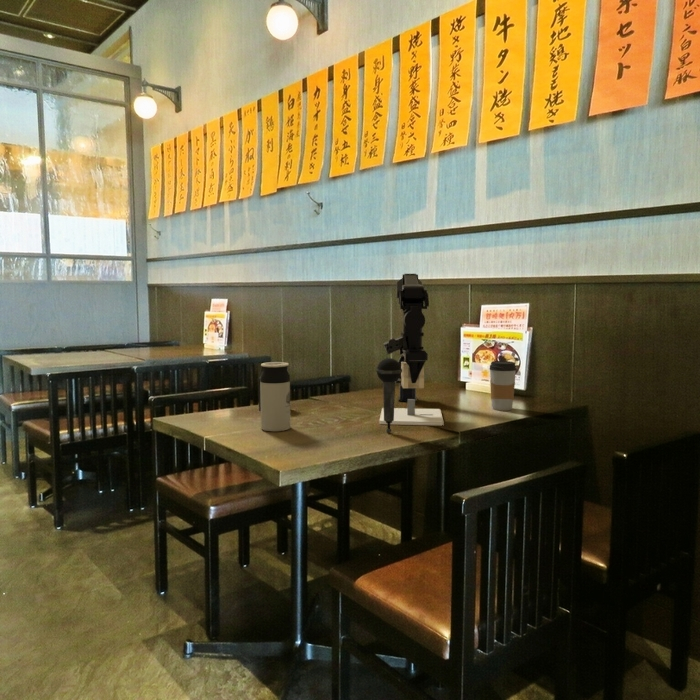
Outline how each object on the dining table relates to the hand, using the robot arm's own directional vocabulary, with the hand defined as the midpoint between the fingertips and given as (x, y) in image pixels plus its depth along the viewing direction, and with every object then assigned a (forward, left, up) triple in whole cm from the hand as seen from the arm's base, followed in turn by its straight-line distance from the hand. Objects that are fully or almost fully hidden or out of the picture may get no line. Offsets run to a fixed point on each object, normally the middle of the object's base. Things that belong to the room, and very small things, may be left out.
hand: (412, 381), depth 169 cm
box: (-9, -44, -11) cm, 46 cm away
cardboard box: (0, 0, -2) cm, 2 cm away
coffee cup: (-16, +29, -11) cm, 35 cm away
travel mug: (+17, -37, -11) cm, 42 cm away
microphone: (+19, -6, -11) cm, 23 cm away
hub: (0, 0, -11) cm, 11 cm away
